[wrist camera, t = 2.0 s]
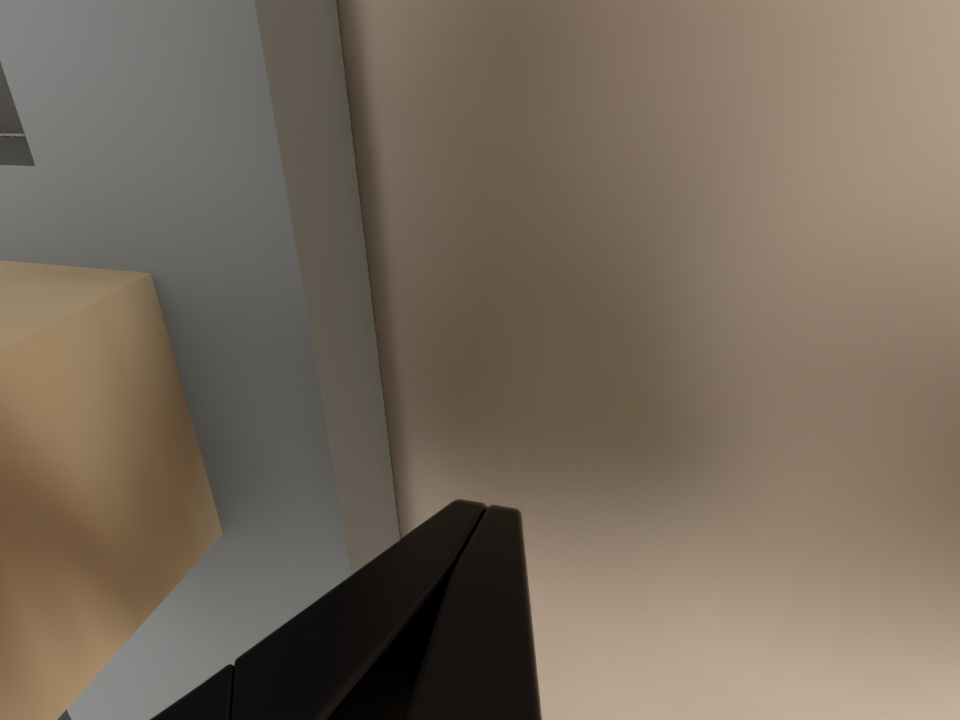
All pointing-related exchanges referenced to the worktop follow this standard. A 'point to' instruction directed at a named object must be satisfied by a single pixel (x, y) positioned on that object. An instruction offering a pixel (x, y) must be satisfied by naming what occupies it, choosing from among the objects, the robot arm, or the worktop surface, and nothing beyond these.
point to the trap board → (216, 287)
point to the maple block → (88, 477)
